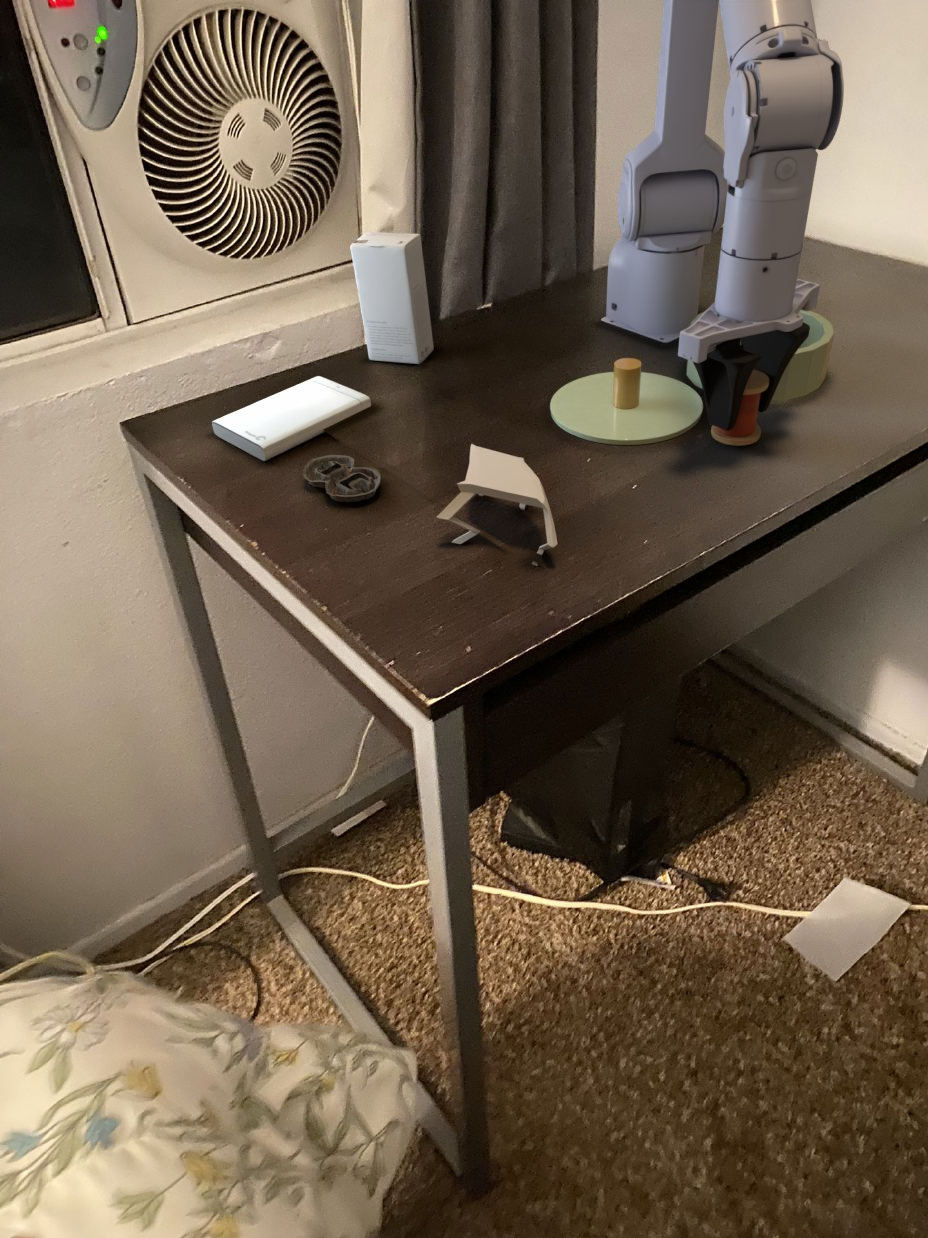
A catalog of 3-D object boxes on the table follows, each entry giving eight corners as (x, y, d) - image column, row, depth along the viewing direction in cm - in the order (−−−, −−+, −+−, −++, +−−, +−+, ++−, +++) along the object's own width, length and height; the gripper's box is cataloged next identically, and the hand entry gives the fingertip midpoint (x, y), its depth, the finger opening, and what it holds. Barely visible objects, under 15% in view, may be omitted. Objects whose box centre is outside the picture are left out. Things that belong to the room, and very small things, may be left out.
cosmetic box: (435, 349, 96) (424, 231, 88) (419, 367, 93) (407, 245, 85) (382, 345, 98) (367, 228, 90) (365, 362, 95) (348, 242, 87)
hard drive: (262, 446, 78) (370, 395, 85) (210, 419, 83) (316, 372, 90) (266, 463, 80) (372, 411, 86) (214, 435, 84) (319, 388, 91)
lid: (519, 415, 83) (518, 365, 80) (621, 369, 90) (624, 320, 86) (629, 468, 75) (632, 414, 72) (733, 413, 81) (740, 361, 78)
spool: (700, 434, 76) (707, 378, 73) (731, 418, 78) (738, 363, 75) (740, 450, 74) (748, 393, 71) (770, 433, 76) (779, 377, 72)
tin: (658, 378, 87) (661, 329, 84) (741, 339, 93) (748, 291, 90) (767, 421, 80) (775, 368, 76) (851, 375, 85) (862, 324, 82)
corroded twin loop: (336, 457, 79) (335, 447, 78) (396, 488, 74) (395, 477, 74) (290, 480, 77) (288, 470, 76) (349, 514, 72) (347, 503, 71)
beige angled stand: (412, 530, 70) (405, 475, 67) (486, 486, 74) (483, 432, 71) (529, 592, 63) (528, 533, 60) (603, 539, 67) (606, 481, 64)
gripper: (743, 287, 60) (719, 465, 69) (867, 233, 67) (831, 402, 76) (662, 264, 65) (649, 434, 73) (786, 216, 71) (761, 377, 80)
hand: (737, 416), depth 75 cm, fingers closed on spool, 4 cm apart
